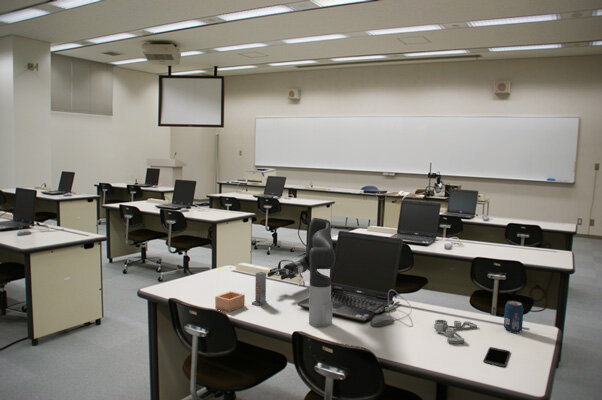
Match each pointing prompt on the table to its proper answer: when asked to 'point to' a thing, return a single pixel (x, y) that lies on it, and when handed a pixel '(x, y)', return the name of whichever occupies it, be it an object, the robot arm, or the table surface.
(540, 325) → the table surface
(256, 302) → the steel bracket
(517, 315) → the soda can
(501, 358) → the smartphone
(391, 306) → the walkie-talkie
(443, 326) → the pulley system
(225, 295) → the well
